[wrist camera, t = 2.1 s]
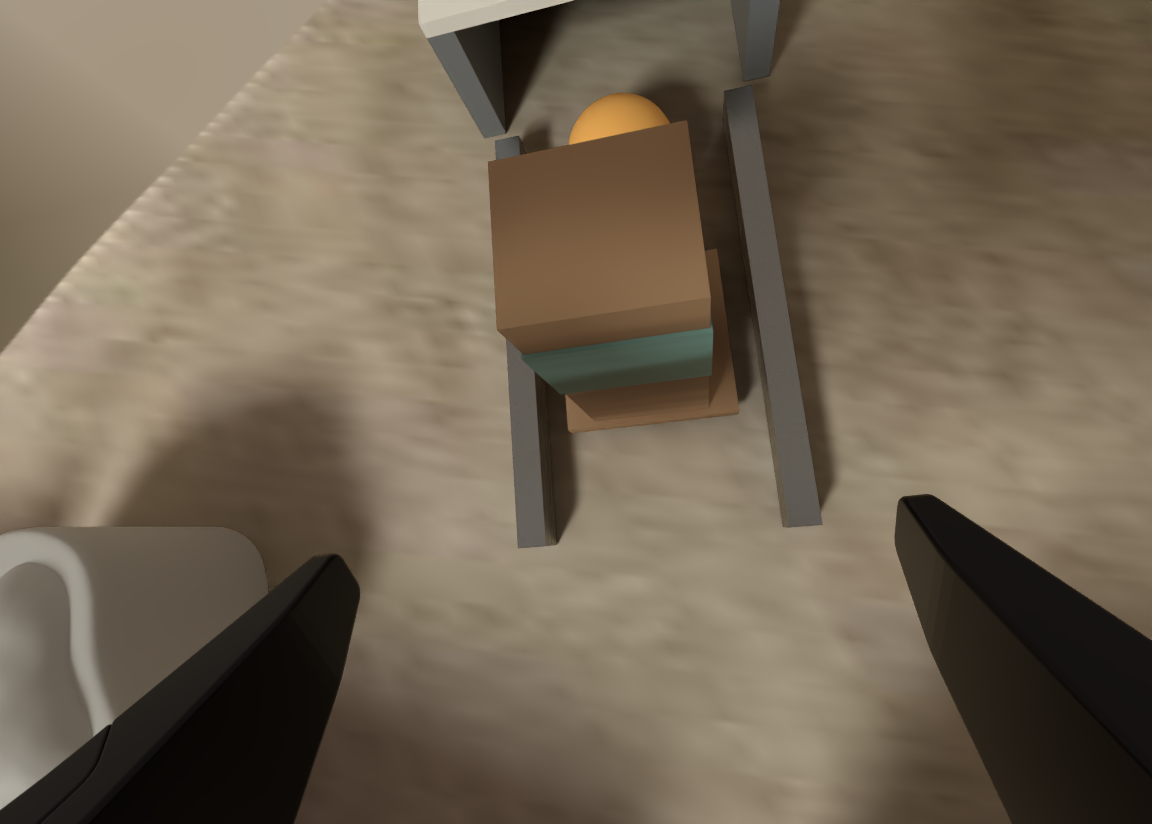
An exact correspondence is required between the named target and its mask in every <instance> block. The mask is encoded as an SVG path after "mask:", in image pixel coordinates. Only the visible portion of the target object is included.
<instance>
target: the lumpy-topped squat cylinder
mask: <svg viewBox="0 0 1152 824" xmlns="http://www.w3.org/2000/svg"><path fill="white" fill-rule="evenodd" d="M268 593H269V592H268V584H267V577H266V572H265V568H264V564H263V561H262V558H261V556H260V553H259V551H258V550H257V548H256V547H255V545H254V544H253V543H252V542H251V541H250V540H249V539H248V538H247V537H245V536H244V535H242V534H241V533H239V532H237V531H234V530H231V529H228V528H223V527H32V528H24V529H18V530H14V531H9V532H6V533H3V534H1V535H0V810H1V809H2V808H3V807H5V806H6V805H7V804H8V803H10V802H11V801H12V800H14V799H15V798H16V797H18V796H19V795H20V794H22V793H23V792H24V791H26V790H27V789H28V788H29V787H31V786H32V785H33V784H35V783H36V782H37V781H39V780H40V779H41V778H43V777H44V776H45V775H46V774H48V773H49V772H50V771H51V770H53V769H54V768H55V767H56V766H58V765H59V764H60V763H61V762H63V761H64V760H65V759H66V758H68V757H69V756H70V755H71V754H73V753H74V752H75V751H76V750H78V749H79V748H80V747H81V746H83V745H84V744H85V743H86V742H88V741H89V740H90V739H91V738H92V737H94V736H95V735H96V734H97V733H98V732H100V731H101V730H102V729H103V728H104V727H106V726H107V725H109V724H112V723H113V721H114V720H115V719H116V718H117V717H118V716H119V715H121V714H122V713H123V712H124V711H125V710H127V709H128V708H129V707H130V706H132V705H133V704H134V703H135V702H136V701H138V700H139V699H140V698H141V697H142V696H144V695H145V694H146V693H147V692H149V691H150V690H151V689H152V688H153V687H155V686H156V685H157V684H158V683H160V682H161V681H162V680H163V679H164V678H166V677H167V676H168V675H169V674H171V673H172V672H173V671H174V670H175V669H177V668H178V667H179V666H180V665H181V664H183V663H184V662H185V661H186V660H188V659H189V658H190V657H191V656H192V655H194V654H195V653H196V652H197V651H199V650H200V649H201V648H202V647H203V646H205V645H206V644H207V643H208V642H209V641H211V640H212V639H213V638H214V637H216V636H217V635H218V634H219V633H220V632H222V631H223V630H224V629H225V628H227V627H228V626H229V625H230V624H231V623H233V622H234V621H235V620H236V619H238V618H239V617H240V616H241V615H242V614H244V613H245V612H246V611H247V610H248V609H250V608H251V607H252V606H253V605H255V604H256V603H257V602H258V601H259V600H261V599H262V598H263V597H264V596H266V595H267V594H268Z"/></svg>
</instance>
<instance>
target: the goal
mask: <svg viewBox="0 0 1152 824" xmlns="http://www.w3.org/2000/svg"><path fill="white" fill-rule="evenodd" d="M570 1H573V0H418V12H419V25H420V27H421V29H422V31H423V32H424V34H425V36H426V38H427V39H428V41H429V43H430V45H431V46H432V48H433V50H434V52H435V53H436V55H437V57H438V59H439V60H440V62H441V64H442V66H443V67H444V69H445V71H446V73H447V74H448V76H449V78H450V80H451V81H452V83H453V85H454V86H455V88H456V90H457V92H458V93H459V95H460V97H461V99H462V100H463V102H464V104H465V106H466V107H467V109H468V111H469V113H470V114H471V116H472V118H473V120H474V121H475V123H476V125H477V127H478V128H479V130H480V132H481V134H482V135H483V137H484V138H487V137H491V136H496V135H501V134H505V133H506V126H505V110H504V94H503V77H502V61H501V44H500V28H499V20H500V19H504V18H508V17H512V16H515V15H519V14H523V13H527V12H531V11H535V10H539V9H542V8H546V7H550V6H554V5H558V4H562V3H566V2H570ZM779 4H780V0H731V5H732V11H733V17H734V24H735V30H736V36H737V43H738V49H739V55H740V62H741V68H742V74H743V81H747V80H752V79H756V78H761V77H765V76H770V68H771V61H772V54H773V47H774V40H775V33H776V26H777V19H778V11H779Z"/></svg>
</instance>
